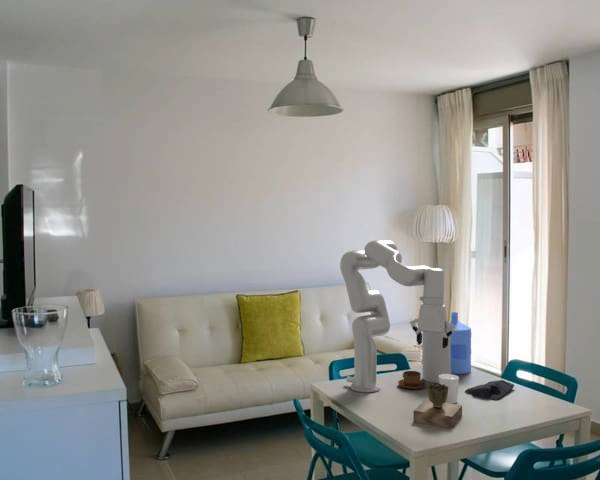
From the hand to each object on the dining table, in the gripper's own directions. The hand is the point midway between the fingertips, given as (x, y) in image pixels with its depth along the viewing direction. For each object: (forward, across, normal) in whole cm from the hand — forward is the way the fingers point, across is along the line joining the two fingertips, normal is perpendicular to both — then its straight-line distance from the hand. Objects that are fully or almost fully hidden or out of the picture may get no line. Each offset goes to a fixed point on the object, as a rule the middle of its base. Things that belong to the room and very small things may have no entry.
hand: (432, 345), depth 218 cm
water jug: (+26, -8, +63) cm, 69 cm away
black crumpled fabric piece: (+26, +15, +37) cm, 47 cm away
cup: (+21, +5, -7) cm, 23 cm away
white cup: (+26, +3, +15) cm, 30 cm away
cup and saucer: (+26, -17, +27) cm, 41 cm away
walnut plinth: (+25, +5, -7) cm, 26 cm away
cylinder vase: (+26, -11, +43) cm, 51 cm away
